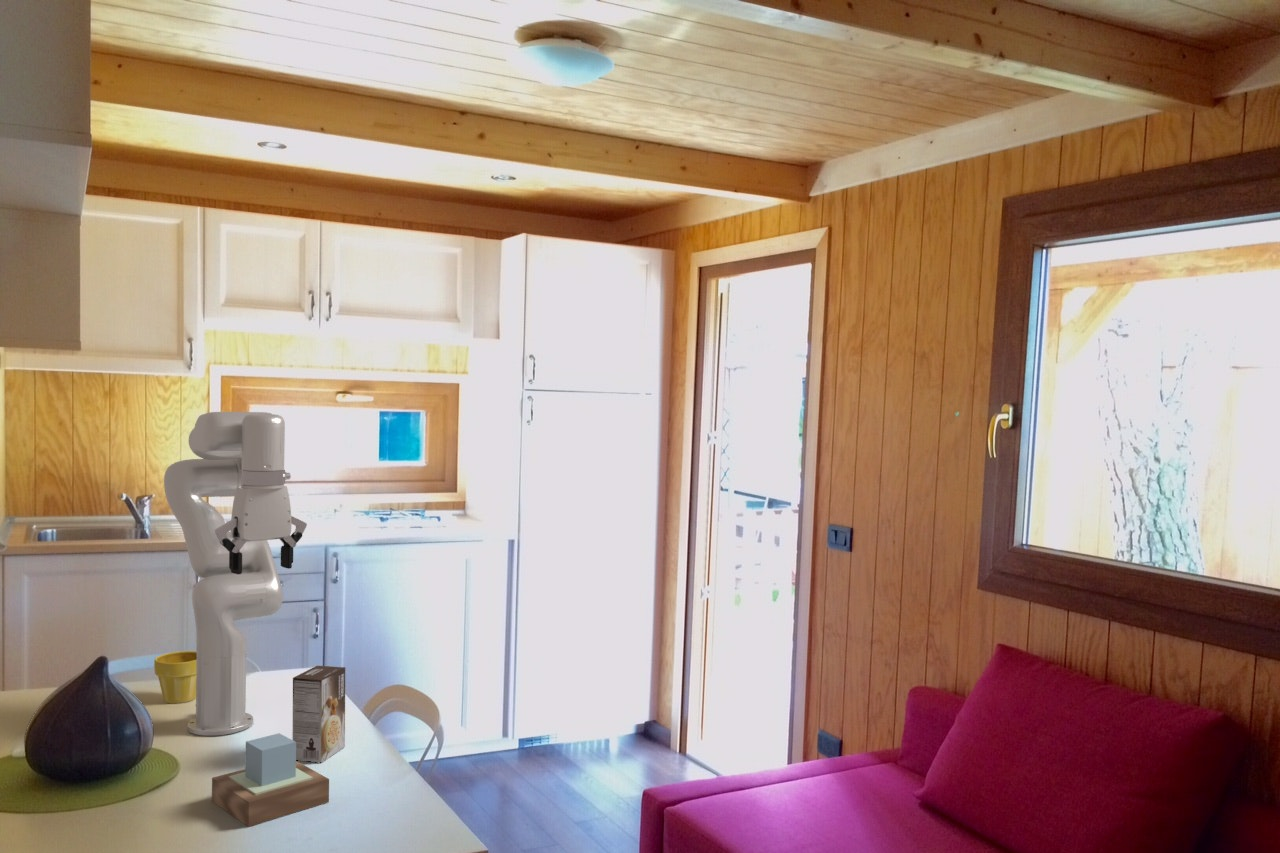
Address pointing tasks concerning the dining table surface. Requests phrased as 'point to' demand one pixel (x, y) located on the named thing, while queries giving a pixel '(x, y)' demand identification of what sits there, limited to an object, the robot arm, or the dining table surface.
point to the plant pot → (177, 676)
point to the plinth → (269, 795)
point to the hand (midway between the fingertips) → (261, 570)
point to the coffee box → (319, 713)
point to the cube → (270, 759)
